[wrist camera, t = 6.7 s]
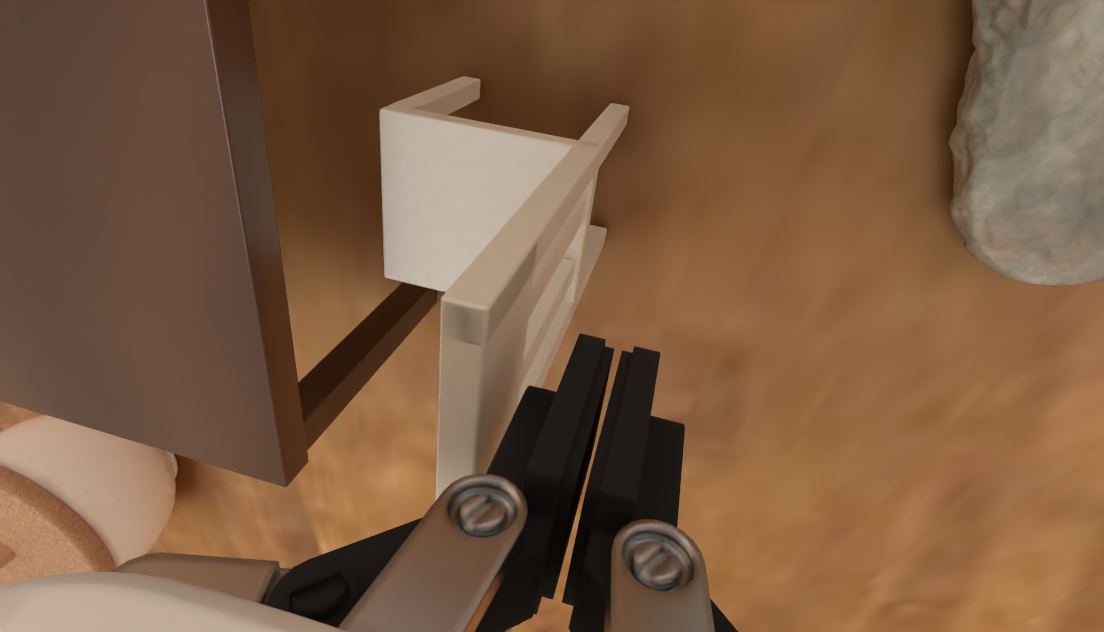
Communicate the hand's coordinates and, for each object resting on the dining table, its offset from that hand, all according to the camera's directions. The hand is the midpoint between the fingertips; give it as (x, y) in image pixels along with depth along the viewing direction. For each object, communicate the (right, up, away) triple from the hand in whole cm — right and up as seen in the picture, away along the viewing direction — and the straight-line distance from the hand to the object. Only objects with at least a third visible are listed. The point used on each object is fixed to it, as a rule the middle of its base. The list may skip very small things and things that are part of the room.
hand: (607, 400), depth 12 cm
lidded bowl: (-32, -8, +31) cm, 46 cm away
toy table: (-12, +11, +15) cm, 22 cm away
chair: (-2, +8, +13) cm, 16 cm away
